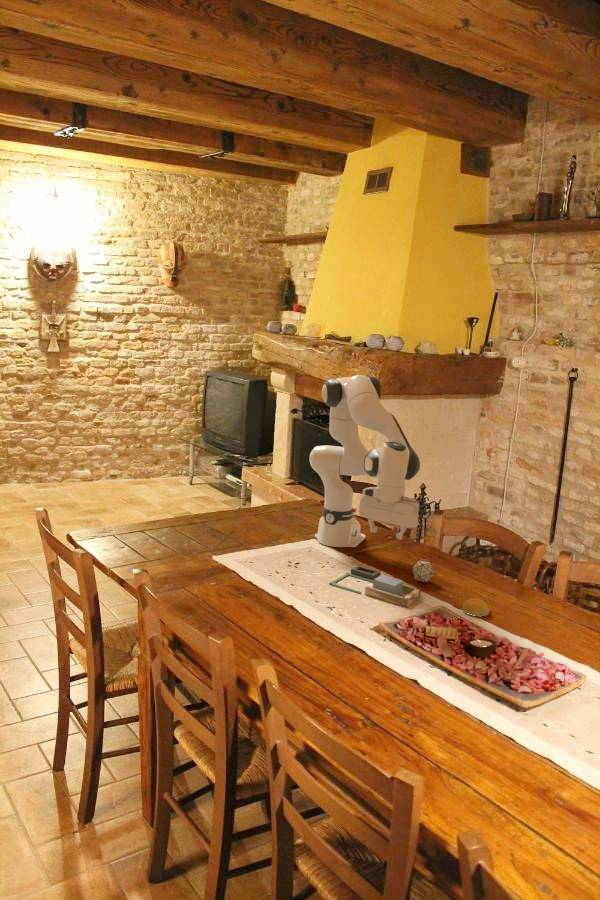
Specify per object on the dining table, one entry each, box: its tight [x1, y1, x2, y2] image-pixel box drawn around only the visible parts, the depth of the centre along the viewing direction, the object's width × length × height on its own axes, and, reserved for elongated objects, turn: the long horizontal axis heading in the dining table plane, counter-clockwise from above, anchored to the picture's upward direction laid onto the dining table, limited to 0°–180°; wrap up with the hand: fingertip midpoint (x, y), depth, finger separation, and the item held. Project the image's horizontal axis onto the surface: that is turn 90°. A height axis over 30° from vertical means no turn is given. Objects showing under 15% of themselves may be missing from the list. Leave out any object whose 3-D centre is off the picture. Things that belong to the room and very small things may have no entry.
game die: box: [409, 557, 437, 585], centre depth 258 cm, size 9×8×10 cm
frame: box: [328, 572, 373, 594], centre depth 253 cm, size 13×12×1 cm
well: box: [350, 564, 381, 581], centre depth 261 cm, size 5×9×2 cm, turn 57°
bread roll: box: [462, 597, 490, 618], centre depth 236 cm, size 8×9×4 cm
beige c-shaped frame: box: [364, 583, 422, 608], centre depth 245 cm, size 11×15×2 cm
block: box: [372, 574, 404, 596], centre depth 246 cm, size 6×8×5 cm
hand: (385, 535), depth 236 cm, fingers open, 8 cm apart
